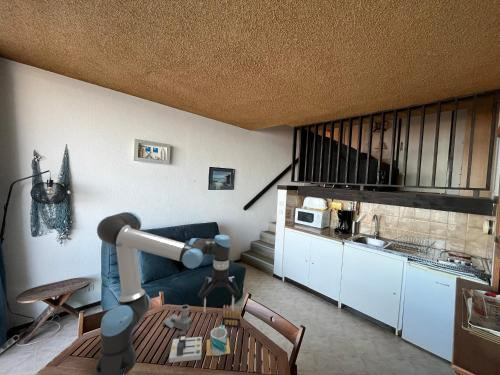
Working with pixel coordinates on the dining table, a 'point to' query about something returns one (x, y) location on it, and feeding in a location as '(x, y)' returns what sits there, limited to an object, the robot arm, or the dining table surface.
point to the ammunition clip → (231, 317)
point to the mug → (218, 340)
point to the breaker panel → (187, 350)
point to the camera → (179, 319)
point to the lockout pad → (211, 353)
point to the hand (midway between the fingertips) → (218, 310)
